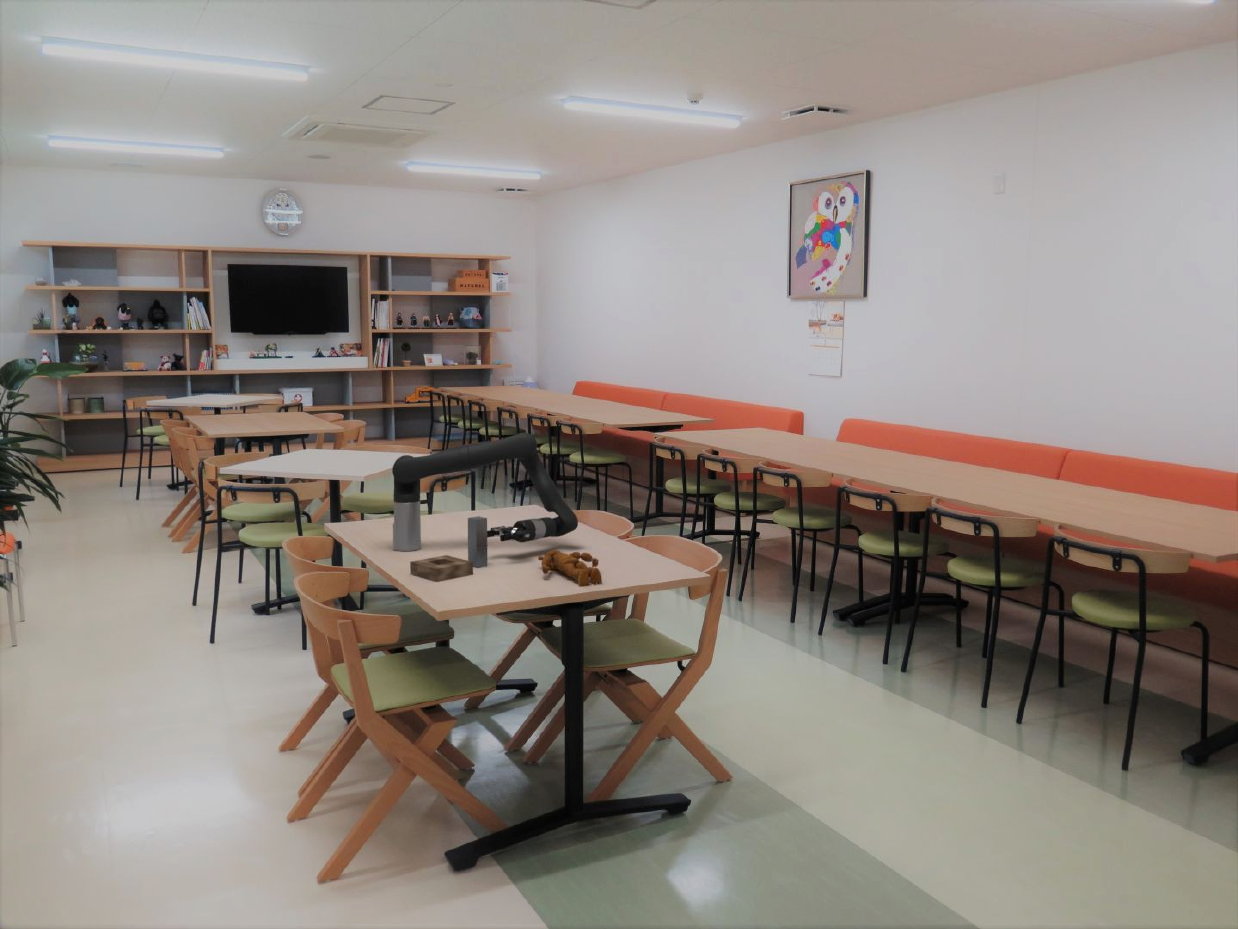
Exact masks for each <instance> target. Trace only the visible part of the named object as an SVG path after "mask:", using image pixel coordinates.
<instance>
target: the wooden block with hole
mask: <svg viewBox="0 0 1238 929" xmlns="http://www.w3.org/2000/svg"><path fill="white" fill-rule="evenodd" d="M409 563H410V566H409V567H410V568H409V569H410V571H409V572H410V575H411V576H415V577H419V578H422V579H426V580H429V581H433V582H436V583H437V582H442V581H448V580H451V579H452V580H453V579H456V578H461V577H462V578H463V577H467V576H471V575H474V567H473V562H471V561H468V559H463V558H459V557H456V556H451V555H447V554H445V555H440V556H435V557H430V558H424V559H423V558H422V559H419V560H412V561H410V562H409Z"/></svg>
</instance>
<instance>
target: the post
mask: <svg viewBox="0 0 1238 929" xmlns="http://www.w3.org/2000/svg"><path fill="white" fill-rule="evenodd" d="M487 531H488V517H483V516H472V517H468V518H467V561H471V562H473V568H476V569H478V568H483V567H487V566H488V538H487Z"/></svg>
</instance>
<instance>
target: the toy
mask: <svg viewBox="0 0 1238 929" xmlns="http://www.w3.org/2000/svg"><path fill="white" fill-rule="evenodd" d="M580 559H581V560H582V561H580ZM537 560H539V561H541V570H542V574H545V575H546V574H548V572H549V571H554V570H555V571H556V570H558V571H560V572H562V573H565V574H566V575H567V576H568V577H570V578H573V579H574V580H576V581H577V586H578V585H579V586H578V587H582V586H583V585H586V586H590V585H592V584H594V585H596V584H595V583H598V584H599V583H601V584H602V583H603V580H602V574H601V571H600V569H599V568H597V567H598V566H599V561H600V560H599V559H598V558H596V557H593V556H592V555H591V554H590V553H588V552H582V553H580V552H579V551H573V552H572V553H569V554H568V553H566V552H565V553H564V552H561V551H560V550H557V549H555V550H549V551H546V552H545V553H544V555H543V556H541V555H540V556H538V557H537ZM585 562H586V563H592V565H591V566H588V565H587V564H586V563H585Z"/></svg>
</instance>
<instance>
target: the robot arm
mask: <svg viewBox="0 0 1238 929" xmlns="http://www.w3.org/2000/svg"><path fill="white" fill-rule="evenodd" d="M513 459H517V460H518V461H519V463H521V465H522V466H523V468H524V470H525V471H526V473H527V474H528V476H529V478H530V480H531V483H532V484H533V486H534V489H535V491H536V493H537V495H538V497H539V500H540V502H541V503H542V505H543V506H544V509H545V511H546V512H548V513H552V512H553V513H554V514H556V515H557V516H555V517H550V516H547V517H546V516H545V517H539V518H530V519H522V520H517V521H516V522H515V523H514V524H513V525H512V526H504V525H501V526H495V527H491V528H490V530H487V539H488V538H493V537H499V539H500V542H507V541H513V542H514V541H515V542H519V543H527V542H532V541H537V540H540V539H545V538H549V537H551V538H554V537H555V538H557V537H562V536H564V535H565V536H566V535H567V534H570V533H571V532H574V531H575V530H576V529H577V528H578V526H579V520H578V517H577V515H576V513H575V512H574V511H573V509H572V508H570V506H569V505H568V504H567V503H566V502H565V501H564V500H563V497H562V495H561V494H560V491H559V489H558V488H557V486H556V484H555V482H554V481H553V479H552V478H551V476H550V475H549V473H548V471H547V470H546V468H545V466H544V465H543V461H541V457H540V455H539V452H538V442H537V440H536V438H535V437H534V436H533V435H532V434H530V433H529V432H520V433H517V434H514V435H512V436H511V435H510V436H509V437H508V436H507V437H505V438H501V439H497V440H491V441H490V440H488V441H480V442H479V441H478V442H471V443H467V444H461V445H457V446H452V447H450V448H446V449H444V450H440V451H438V452H435V453H432V454H429V455H421V456H415V457H414V456H413V455H409V454H404V455H401V456H399V457H397V459H396V460H395V462H393V465H392V468H391V469H392V470H391V471H392V476H393V523H392V550H393V551H398V552H399V551H400V552H413V551H417V550H418V551H419V550H420V549H422V526H421V524H422V522H421V520H422V518H421V480H422V479H425V478H429V477H433V476H437V475H439V476H440V475H445V474H446V475H447V474H454V473H460V472H467V471H472V470H476V469H480V468H483V467H486V466H488V465H491V464H495V463H498V462H500V461H506V460H513Z"/></svg>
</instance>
